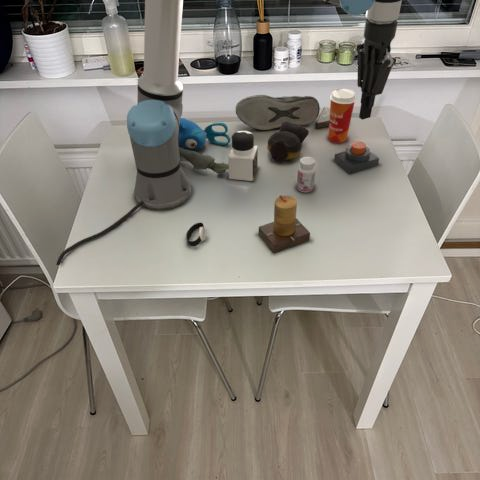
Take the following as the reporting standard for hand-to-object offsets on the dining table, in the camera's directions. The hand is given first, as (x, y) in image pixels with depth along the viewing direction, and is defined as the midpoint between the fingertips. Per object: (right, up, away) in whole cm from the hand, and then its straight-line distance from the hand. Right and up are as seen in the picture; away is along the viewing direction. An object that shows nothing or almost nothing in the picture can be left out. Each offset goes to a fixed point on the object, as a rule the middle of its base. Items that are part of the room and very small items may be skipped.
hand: (364, 117), depth 129 cm
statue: (-63, -1, +13) cm, 64 cm away
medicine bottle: (-33, -13, +8) cm, 36 cm away
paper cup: (-3, +2, +20) cm, 20 cm away
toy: (-51, +5, +12) cm, 53 cm away
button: (0, -7, +8) cm, 10 cm away
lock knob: (-23, -33, -13) cm, 43 cm away
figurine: (-23, -7, +8) cm, 25 cm away
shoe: (-22, +10, +21) cm, 32 cm away
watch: (-45, -35, -11) cm, 58 cm away
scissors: (-37, +1, +15) cm, 40 cm away
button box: (0, -9, +10) cm, 14 cm away
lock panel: (-23, -35, -12) cm, 43 cm away
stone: (-4, +8, +28) cm, 30 cm away
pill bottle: (-16, -19, +3) cm, 25 cm away
